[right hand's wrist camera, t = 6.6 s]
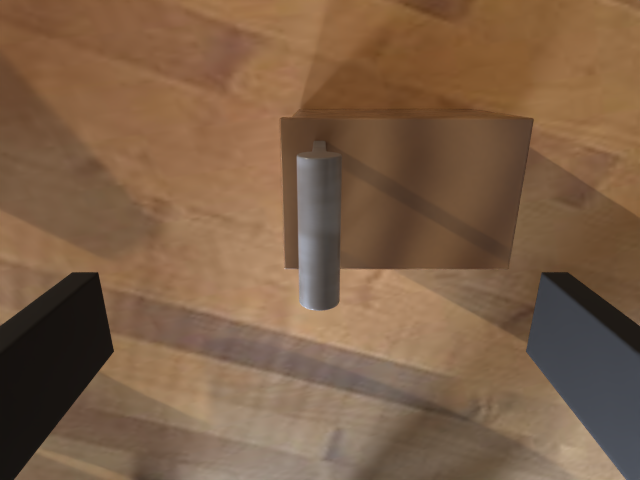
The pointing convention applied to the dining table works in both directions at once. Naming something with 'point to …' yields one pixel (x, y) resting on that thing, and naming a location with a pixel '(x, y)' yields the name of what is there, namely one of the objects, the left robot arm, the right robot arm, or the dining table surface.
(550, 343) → the right robot arm
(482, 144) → the lid
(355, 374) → the dining table surface
